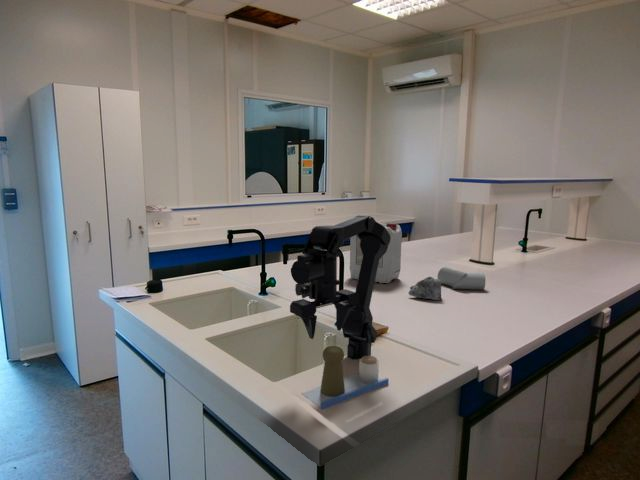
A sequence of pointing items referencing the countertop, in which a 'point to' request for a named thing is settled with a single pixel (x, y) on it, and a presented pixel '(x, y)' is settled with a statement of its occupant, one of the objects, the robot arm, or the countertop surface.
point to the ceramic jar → (368, 369)
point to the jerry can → (387, 262)
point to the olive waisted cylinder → (333, 372)
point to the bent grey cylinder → (462, 279)
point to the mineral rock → (427, 289)
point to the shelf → (351, 390)
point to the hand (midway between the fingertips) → (325, 334)
